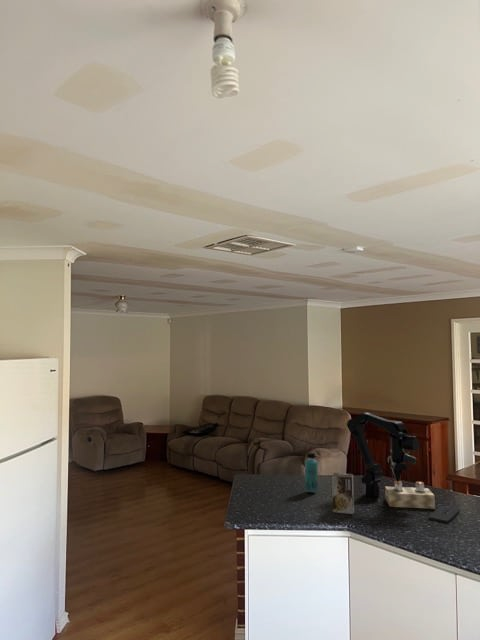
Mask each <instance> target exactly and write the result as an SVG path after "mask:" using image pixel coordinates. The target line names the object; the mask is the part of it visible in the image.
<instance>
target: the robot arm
mask: <svg viewBox="0 0 480 640" xmlns="http://www.w3.org/2000/svg"><path fill="white" fill-rule="evenodd" d="M367 423H371V425H372V424H373V425H375V426H378V427H381V428H383V429H385V431H386V432H388V433H389V434H387V435H386V437H387V438H388V439H390V450H389V451H390V455H389V456H387V463H391V464H390V468H391V470H392V473H393V475H394V478H395V481H398V482H399V481H401V475H402V473H403V471H409V465H408V464H411V465H413V466H415V464H416V462H417V458H416V456H414V455H413V454H412V453H411V452H418V451H419V450H420V441H419V439H417V436H416V435H413V436H412V435H411V434H410V433H409V431H408V430H407V428H406V426H405V424H404V422H402V421H399V420H394V419H393V420H392V419H391V420H390V419H387V418H385V417H384V418H383V417H382V416H378V415H376V414H373V413H370V412H362V413H360V414H359V415H358V416H355V417H353V418H350V419H349V420H348V421H347V423H346V427H347V429H348V431H349V432H350V434H351V435H352V436H353V437H354V438H355V440H356V444H357V446H358V449H359V452H360V454H361V457H362V459H363V462H364V475H363V477H361V482H362V484H364V491H363V494H364V496H365V497H367V498H368V497H369V498H380V486H379V483H381V480H382V479H383V476H384V473H383V472H384V470H383V468H382V466H381V463H377V462H376V461H375V459H374V456H373V454H372V451H371V448H370V446H369V444H368V441H367V438H366V435H365V428H366V427H365V425H366V424H367ZM405 450H406V451H407V453H406V452H405ZM408 451H411V452H408ZM406 462H407V463H408V464H407V463H406Z"/></svg>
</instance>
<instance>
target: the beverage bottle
mask: <svg viewBox="0 0 480 640" xmlns="http://www.w3.org/2000/svg"><path fill="white" fill-rule="evenodd" d="M306 458H308V459H306V460H305V461H304V463H305V464H304V467H305V468H304V469H305V470H304V490H305V491H307V492H316V491H318V461H317V460H316V459H315V458H316V454H315V453H314V452H308V453H307V456H306Z"/></svg>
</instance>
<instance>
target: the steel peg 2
mask: <svg viewBox="0 0 480 640" xmlns="http://www.w3.org/2000/svg"><path fill="white" fill-rule="evenodd" d="M415 488H416V492H421V493H424V488H425V483H424V482H423V481H415Z"/></svg>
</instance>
